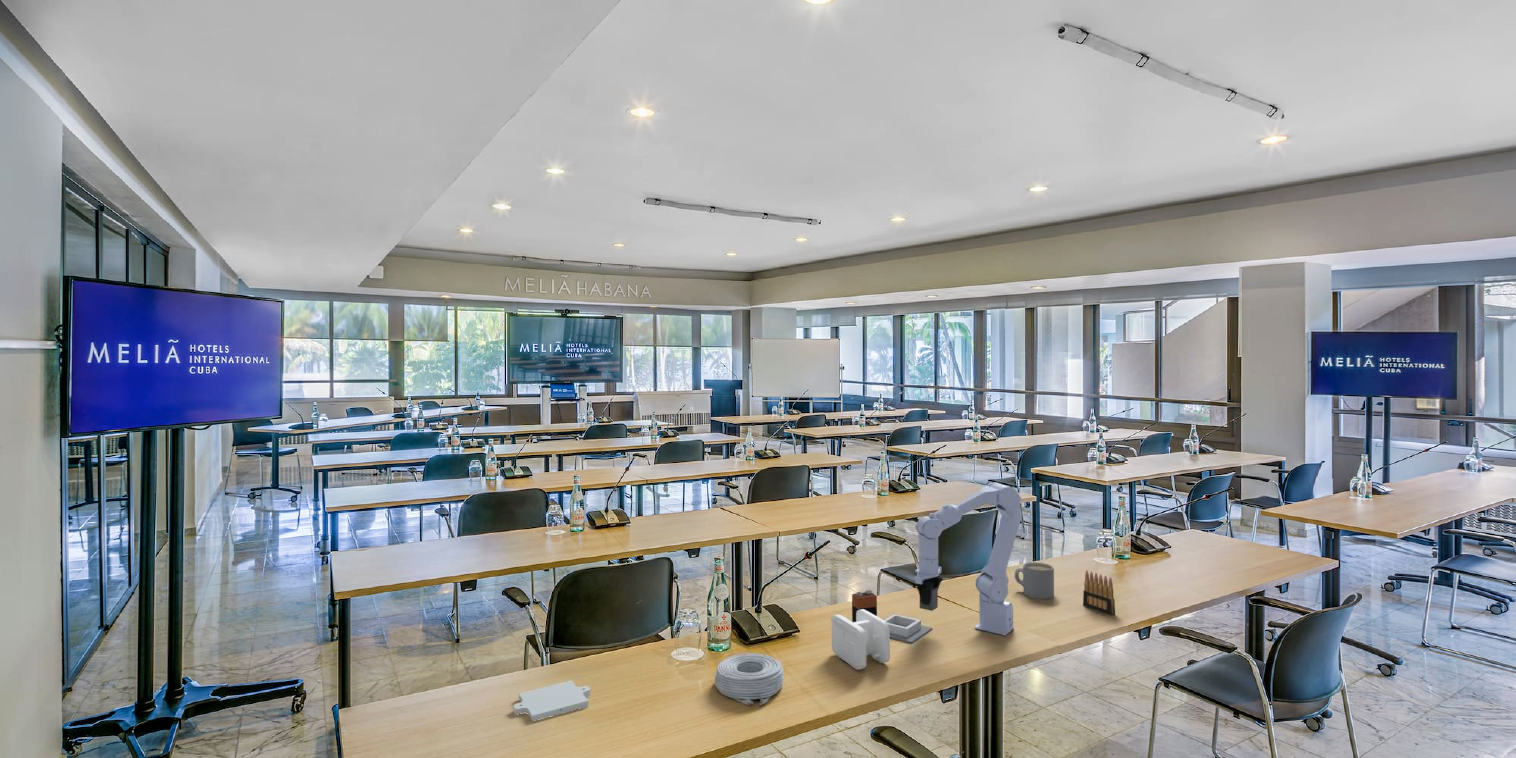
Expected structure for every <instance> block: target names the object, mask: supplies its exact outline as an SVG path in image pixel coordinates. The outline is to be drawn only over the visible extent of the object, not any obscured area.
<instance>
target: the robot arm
mask: <svg viewBox="0 0 1516 758" xmlns="http://www.w3.org/2000/svg"><path fill="white" fill-rule="evenodd" d="M1021 499H1022V497H1021V496H1020V494H1019V493H1018V491H1017V490H1016V488H1014V487H1012V486H1007V485H1004V484H1001V483H999V482H991V483H989V484H988V485H984V486H983V487H982V488H980V489H979V490H978V491H977V492H975V493H973V494H971V495H970V496H969V497H967V498H966V499H964V500H962V501H960V502H959V503H957V504H956V505H954V504H952V503H951V504H950V503H949V504H946V503H945V504H943V505H942V508H940V509H939V510H937V511H935V512H931V513H929V516H927V515H926V516H925V515H924V516H922V517H920V518H919V519H918V521H917V522H916V524H915V530H916V531H917V533H918V568H917V569H915V570H914V572H915V573H916V576H914V581H913V583H914V585H915V587H916V588H917V591H918V594H919V600H920V599H921V603H922V604H925V605H929V602H930V595H931V590H932V587H937V588H938V589H939V588H940V586H941V583H942V581H943V576H940V574H942V566H939V537H940V536H941V534H942V532H943V531H944V530H946V529H948V528H951V527H953V525H956V524H957V523H959V522H960V521H961V520H962V516H963V515H965V514H968V513H969V512H972V511H973V510H975V509H977V508H978V509H979V507H980V508H981V507H982V506H984V505H990V506H995V507H996V508H997V510H998V512H999V514H1000V516H1001V518H1000V522H999V525H998V528H997V531H996V535H995V537H994V542H993V544H992V545H993V546H992V548H991V549H992V550H991V553H990V556H989V559H988V563H987V564H986V565H985V566H984V567H982V570H981V572H980V574H979V575H978V576H977V578H976V579H975V587H976V590H977V591H978V592H979V595H978V597H979V598H978V600H979V603H978V604H979V605H978V606H979V612H978V613H979V623H978V624H977V625H975V626H974V629H976V630H980V631H984V632H989V633H993V634H998V635H1003V636H1007V635H1008V634H1009V633H1010V632H1011V631H1012V630H1013V629H1015V626H1014V606H1013V603H1012V602H1010V601H1007V600H1006V599H1007V597H1008V595H1009V588H1008V587H1009V577H1008V574H1007V568H1008V566H1009V561H1010V558H1011V555H1012V551H1013V548H1014V544H1015V540H1016V538H1017V534H1018V531H1019V526H1020V524H1021V520H1022V517H1023V514H1022V508H1021V503H1020V502H1021Z"/></svg>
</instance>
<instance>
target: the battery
mask: <svg viewBox="0 0 1516 758" xmlns="http://www.w3.org/2000/svg"><path fill="white" fill-rule="evenodd" d="M877 599H878V597H877V595H876V594H875V593H873V590H869V589H866V590H865V591H864V592H862V591H857V592H856V593H853V594H851V617H852V619H851V621H852V622H856V612H857V611H858V610H861V609H864V610H866V611H868V612H870V613H872V614H874V615H875V616H877V617H878V604H877V603H878V600H877Z"/></svg>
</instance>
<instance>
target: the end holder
mask: <svg viewBox="0 0 1516 758" xmlns="http://www.w3.org/2000/svg"><path fill="white" fill-rule="evenodd" d="M884 620H885V621H886V622H887V624H888V625H889V629H890V639H893V640H896V641H900V642H903V643H907V644H911V645H912V644H913V643H915V642H916V641H918V640H919V639H921V638H922V637H924V636H925V635H927V634H928V633H929V632H931V631H932V630H933V627H930V626H927V625H923V624H922V619H918V618H913V617H909V616H904V615H900V614H895V613H893V614H892V615H890V616H889V617H887V618H886V619H884ZM926 633H927V634H926Z"/></svg>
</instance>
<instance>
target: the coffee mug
mask: <svg viewBox="0 0 1516 758" xmlns="http://www.w3.org/2000/svg"><path fill="white" fill-rule="evenodd" d="M1020 572H1021V574H1022V579H1021V578H1020ZM1054 577H1055V567H1054V566H1053V565H1051V564H1049V563H1044V562H1037V561H1036V562H1035V561H1034V562H1033V561H1032V562H1025V563H1023V566H1022V567H1017V568H1016V569H1015V571H1014V579H1015V582H1016V583H1017V584H1019V585H1020V586H1022V587H1023V595H1025V596H1026V597H1028V598H1033V599H1038V600H1049V599H1053V598H1054V597H1055V578H1054Z"/></svg>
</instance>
